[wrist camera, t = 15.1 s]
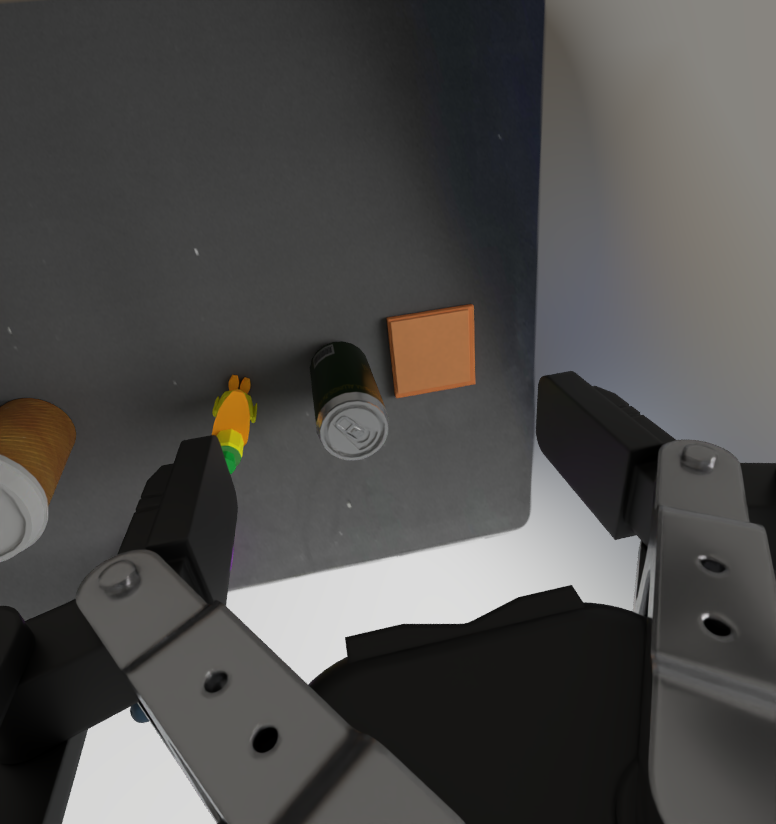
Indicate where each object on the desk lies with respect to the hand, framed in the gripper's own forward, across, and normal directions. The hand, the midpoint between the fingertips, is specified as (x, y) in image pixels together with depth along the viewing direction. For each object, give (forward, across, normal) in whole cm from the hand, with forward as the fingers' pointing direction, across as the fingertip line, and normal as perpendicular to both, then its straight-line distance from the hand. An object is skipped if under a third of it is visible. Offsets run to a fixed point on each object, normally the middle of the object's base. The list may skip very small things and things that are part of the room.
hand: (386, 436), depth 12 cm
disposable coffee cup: (+32, +27, +13) cm, 44 cm away
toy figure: (+32, +9, +12) cm, 36 cm away
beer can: (+32, 0, +12) cm, 34 cm away
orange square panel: (+32, -9, +12) cm, 35 cm away
